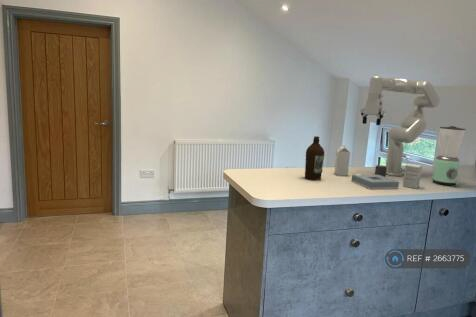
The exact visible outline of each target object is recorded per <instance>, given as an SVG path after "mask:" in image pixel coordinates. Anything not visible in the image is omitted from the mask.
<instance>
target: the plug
mask: <svg viewBox="0 0 476 317" xmlns="http://www.w3.org/2000/svg"><path fill="white" fill-rule="evenodd" d="M386 169H387V167H386V165H382V164H381V165H380V164H379V165H378V164H377V165H375V169H374V175H381V176H384V177H386Z"/></svg>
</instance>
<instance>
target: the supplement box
mask: <svg viewBox="0 0 476 317" xmlns="http://www.w3.org/2000/svg"><path fill="white" fill-rule="evenodd" d="M422 167H423V165H421V164H413V163H407V164H406V165H405V167H404V169H405V172H404V174H403V180H402V181H403V183H402V187H405V188H408V189H409V188H410V189H414V190H415V189H418V188H420V183H421V177H422V176H421V175H422Z"/></svg>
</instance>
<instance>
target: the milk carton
mask: <svg viewBox="0 0 476 317" xmlns="http://www.w3.org/2000/svg"><path fill="white" fill-rule="evenodd" d="M350 156H351V152H350V151H349V150H348V148H346V145H345V144H342V146H339V147H337V150H336V155H335V164H334V172H333V173H334V174H335V176H343V177H344V176H345V177H348V175H349V167H350V158H351V157H350Z"/></svg>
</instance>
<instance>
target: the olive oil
mask: <svg viewBox="0 0 476 317" xmlns="http://www.w3.org/2000/svg"><path fill="white" fill-rule="evenodd" d="M312 142H313V143H311V144H310V145H309V146H308V147H307V148H306V150H305V164H304V166H305V169H304V178H305V179H307V180H310V181H320V180H322V173H323V167H324V166H323V165H324V159H325V150H324V148H323V146H322V145H321V144H320V136H318V135H317V136H315V135H314V136H313V141H312Z"/></svg>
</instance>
